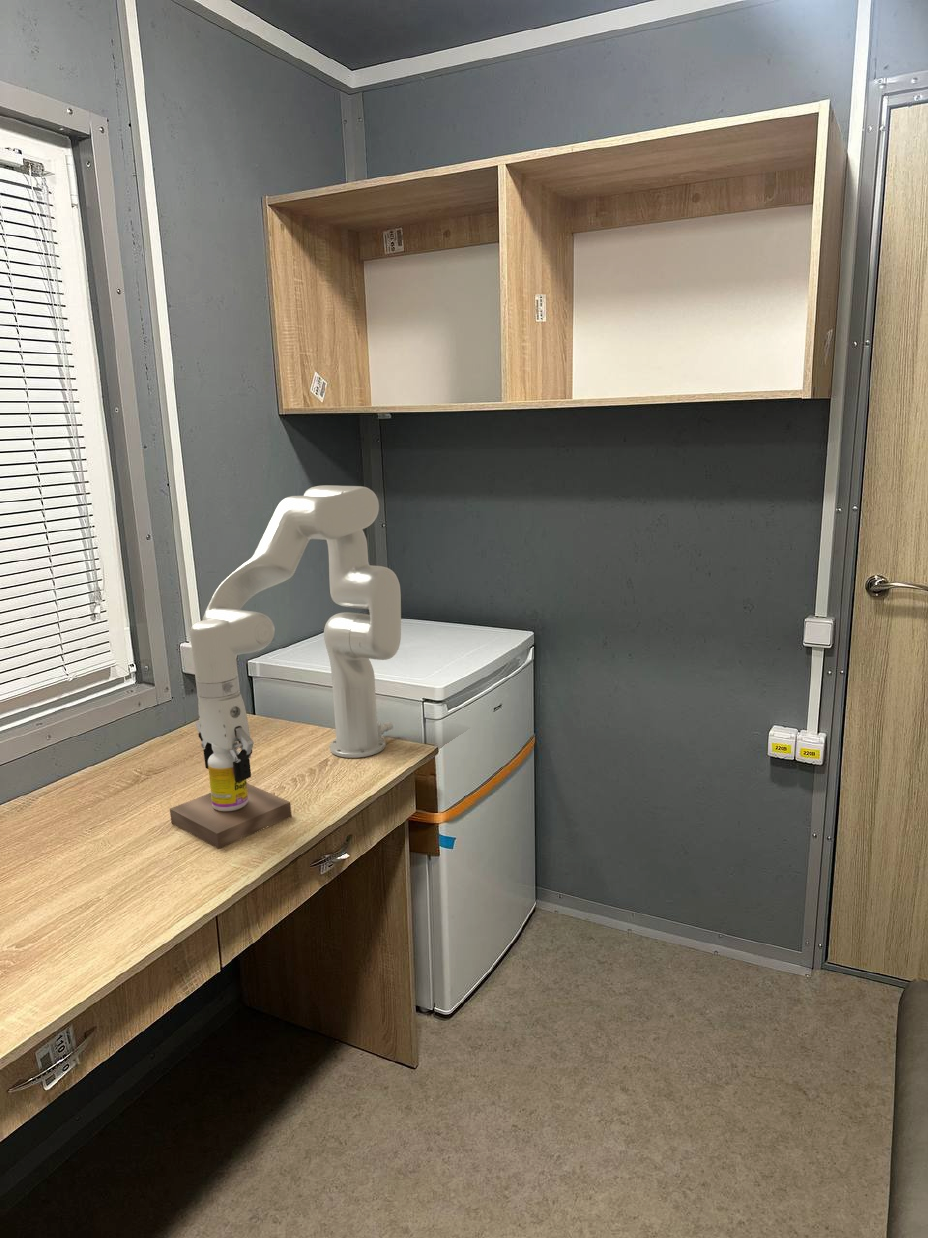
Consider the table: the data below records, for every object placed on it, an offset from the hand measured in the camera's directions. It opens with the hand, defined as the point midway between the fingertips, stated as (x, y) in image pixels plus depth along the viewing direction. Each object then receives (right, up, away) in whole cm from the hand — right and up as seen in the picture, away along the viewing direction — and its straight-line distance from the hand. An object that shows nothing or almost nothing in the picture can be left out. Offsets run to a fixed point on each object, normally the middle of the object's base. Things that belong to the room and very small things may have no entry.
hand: (228, 773), depth 164 cm
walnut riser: (0, -9, +2) cm, 10 cm away
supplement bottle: (0, -7, +1) cm, 7 cm away
